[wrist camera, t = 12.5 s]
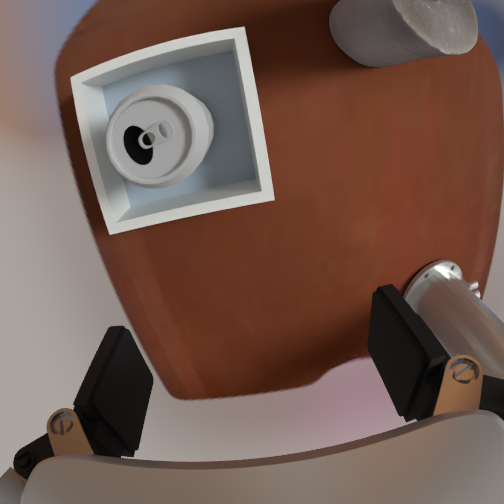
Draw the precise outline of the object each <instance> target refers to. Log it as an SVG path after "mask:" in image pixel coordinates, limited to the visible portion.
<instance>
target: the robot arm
mask: <svg viewBox="0 0 504 504" xmlns="http://www.w3.org/2000/svg"><path fill="white" fill-rule="evenodd" d="M477 287H478V282H477V281H476V280H475V281H472V282H469V283H467V282H466V281H465V280H464V279H463V278H462V272H461V270H460V268H459V266H457V265H456V264H455V263H454V262H452V261H451V260H438V261H435V262H433V263H431V264H429V265H428V266H426V267H425V268H423V269H422V270H421V271H420V272H419V273H418V274H417V275H416V276H415V277H414V278H413V279H412V281H411V282H410V284H409V285H408V287H407V289H406V291H405V293H404V296H402V295H401V294H400V293H399V291H398V290H397V289H396V288H395V287H394V285H392V284H389V285H385V286H380V287H378V288H377V290H376V291H375V292H373V296H372V307H371V318H370V327H369V336H368V351H369V353H370V355H371V357H372V359H373V361H374V363H375V366H376V368H377V370H378V371H379V374H380V376H381V378H382V380H383V382H384V384H385V387H386V388H387V391H388V393H389V395H390V397H391V399H392V402H393V404H394V406H395V408H396V411H397V413H398V415H399V416H404V419H405V421H406V422H408V421H411V420H414V419H416V420H417V422H414V423H411V424H408V425H405V426H403V427H399V428H396V429H393V430H390V431H387V432H383V433H380V434H377V435H373V436H370V437H366V438H363V439H359V440H355V441H352V442H348V443H344V444H339V445H335V446H331V447H326V448H321V449H316V450H311V451H306V452H300V453H294V454H288V455H282V456H275V457H266V458H257V459H247V460H233V461H213V462H170V461H151V460H137V459H125V458H121V456H127V457H134V453H135V450H138V448H139V444H140V439H141V434H142V430H143V425H144V420H145V416H146V411H147V407H148V403H149V398H150V394H151V390H152V386H153V376H152V373H151V372H150V370H149V368H148V366H147V364H146V362H145V360H144V359H143V357H142V355H141V353H140V351H139V349H138V347H137V345H136V343H135V341H134V339H133V337H132V335H131V332H130V331H129V330H128V329H126V328H125V327H124V326H111V327H109V328H108V330H107V332H106V334H105V336H104V338H103V340H102V342H101V344H100V346H99V348H98V350H97V352H96V354H95V356H94V358H93V360H92V362H91V365H90V367H89V369H88V371H87V374H86V376H85V378H84V380H83V382H82V385H81V387H80V389H79V391H78V394H77V396H76V398H75V401H74V403H73V405H74V406H75V407H74V409H73V410H72V409H68V408H62V409H59V410H57V411H56V412H54V413H53V414H52V415H51V416H50V418H49V420H48V422H47V433H46V434H45V435H43V436H41V437H40V438H38V439H36V440H35V441H33V442H31V443H30V444H28V445H26V446H25V447H23V448H21V449H20V450H19V451H18V452H17V453H16V455H15V457H14V462H13V465H14V469H12V468H11V467H10V468H9V469H8V470H7V471H6V472H5V473H4V474H3V475H2V476H1V477H0V504H504V323H503V322H502V321H501V320H500V319H499V318H498V317H497V316H496V314H495V313H493V312H492V310H490V308H489V307H487V305H485V304H484V303H483V302H482V301H481V300H480V299H479V298H480V292H479V291H478V290H477V289H476V290H473V289H475V288H477ZM471 290H473V291H471Z"/></svg>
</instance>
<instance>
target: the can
mask: <svg viewBox="0 0 504 504" xmlns="http://www.w3.org/2000/svg"><path fill="white" fill-rule="evenodd" d="M213 137H214V121H213V118H212V114H211V112H210V111H209V109H208V108H207V107H206V105H205V104H204V103H203V102H201V101H200V100H198V99H197V98H196V97H194V96H192V95H191V94H189V93H187V92H186V91H184V90H182V89H181V88H177V87H173V86H170V85H166V84H159V85H147V86H145V87H142V88H140V89H137V90H135V91H133V92H131V93H130V94H129V95H127V96H126V97H125V98H124V99H123V100H121V101H120V102H119V104H118V105H117V106H116V108H115V110H114V111H113V113H112V114H111V116H110V118H109V122H108V125H107V129H106V150H107V153H108V156H109V159H110V162H111V164H112V165H113V167H114V168H115V169H116V171H117V172H118V173H119V175H120V176H122V177H123V178H125V179H126V180H127V181H129V182H130V183H132V184H134V185H137V186H140V187H143V188H147V189H163V188H166V187H169V186H172V185H175V184H178V183H180V182H181V181H183V180H184V179H185V178H187V177H188V176H190V175H191V174H192V173H193V172H194V171H195V169H196V168H197V167H198V165H199V164H200V163H201V161H202V160H203V158H204V156H205V155H206V153H207V151H208V149H209V147H210V145H211V142H212V139H213Z"/></svg>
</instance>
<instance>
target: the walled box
mask: <svg viewBox="0 0 504 504" xmlns="http://www.w3.org/2000/svg"><path fill="white" fill-rule="evenodd" d="M71 84H72V90H73V96H74V102H75V108H76V113H77V118H78V123H79V128H80V132H81V137H82V141H83V146H84V150H85V154H86V158H87V162H88V166H89V169H90V173H91V177H92V180H93V184H94V187H95V191H96V194H97V197H98V201H99V204H100V207H101V210H102V213H103V216H104V219H105V222H106V225H107V228H108V231H109V234H110V235H111V234H115V233H119V232H123V231H128V230H132V229H136V228H140V227H145V226H149V225H153V224H158V223H162V222H167V221H171V220H176V219H180V218H185V217H190V216H194V215H199V214H204V213H209V212H214V211H219V210H224V209H229V208H234V207H239V206H245V205H250V204H255V203H261V202H266V201H272V200H275V199H274V193H273V186H272V180H271V173H270V167H269V160H268V154H267V148H266V142H265V136H264V130H263V124H262V118H261V112H260V107H259V101H258V95H257V90H256V84H255V79H254V73H253V68H252V63H251V58H250V52H249V47H248V42H247V37H246V32H245V27H239V28H232V29H225V30H219V31H213V32H208V33H203V34H198V35H193V36H189V37H185V38H180V39H176V40H172V41H169V42H165V43H161V44H158V45H154V46H151V47H148V48H144V49H141V50H138V51H135V52H132V53H129V54H126V55H123V56H121V57H118V58H115V59H112V60H110V61H107V62H105V63H102V64H100V65H97V66H95V67H93V68H90V69H88V70H86V71H83V72H81V73H79V74H77V75H75V76H72V77H71ZM159 84H166V85H170V86H173V87H177V88H181V89H182V90H184V91H186V92H187V93H189V94H191V95H192V96H194V97H196V98H197V99H198V100H200V101H201V102H203V103H204V104H205V105H206V107H207V108H208V109H209V111H210V112H211V114H212V118H213V121H214V137H213V139H212V142H211V145H210V147H209V149H208V151H207V153H206V155H205V156H204V158H203V160H202V161H201V163H200V164H199V165H198V167H197V168H196V169H195V171H194V172H193V173H192V174H191V175H190V176H188V177H187V178H185V179H184V180H183V181H181V182H180V183H178V184H175V185H172V186H169V187H166V188H163V189H147V188H143V187H140V186H137V185H134V184H132V183H130V182H129V181H127V180H126V179H125V178H123V177H122V176H120V175H119V173H118V172H117V171H116V169H115V168H114V167H113V165H112V164H111V162H110V159H109V156H108V153H107V150H106V129H107V125H108V122H109V118H110V116H111V114H112V113H113V111H114V110H115V108H116V106H117V105H118V104H119V102H120V101H121V100H123V99H124V98H125V97H126V96H127V95H129V94H130V93H131V92H133V91H135V90H137V89H140V88H142V87H145V86H147V85H159Z"/></svg>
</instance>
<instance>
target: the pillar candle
mask: <svg viewBox="0 0 504 504" xmlns="http://www.w3.org/2000/svg"><path fill="white" fill-rule="evenodd" d="M329 26H330V31H331V34H332V36H333V39H334V41H335V42H336V44H337V45H338V46H339V47H340V48H341V49H342V50H343V51H344V52H345V53H346V54H347V55H348V56H349V57H351V58H352V59H353V60H355V61H356V62H358V63H360V64H363V65H365V66H368V67H376V68H381V67H387V66H393V65H398V64H403V63H407V62H412V61H418V60H422V59H429V58H435V57H441V56H450V55H458V54H463V53H466V52H468V51H469V50H470V49H472V47H473V46H474V45H475V43H476V41H477V36H478V24H477V17H476V14H475V10H474V8H473V5H472V3H471V1H470V0H340V1H339V2H338V3H337V4H336V5H335V6H334V7H333V9H332V11H331V13H330V17H329Z"/></svg>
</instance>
